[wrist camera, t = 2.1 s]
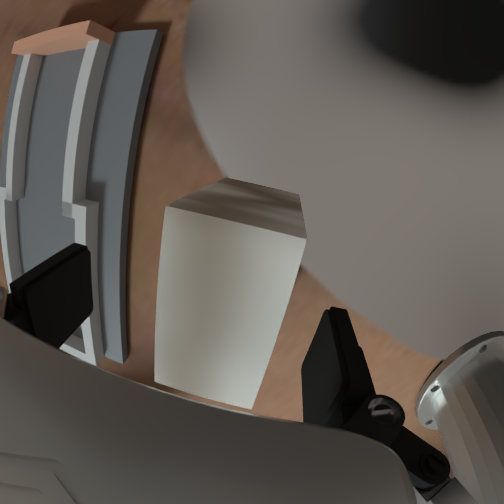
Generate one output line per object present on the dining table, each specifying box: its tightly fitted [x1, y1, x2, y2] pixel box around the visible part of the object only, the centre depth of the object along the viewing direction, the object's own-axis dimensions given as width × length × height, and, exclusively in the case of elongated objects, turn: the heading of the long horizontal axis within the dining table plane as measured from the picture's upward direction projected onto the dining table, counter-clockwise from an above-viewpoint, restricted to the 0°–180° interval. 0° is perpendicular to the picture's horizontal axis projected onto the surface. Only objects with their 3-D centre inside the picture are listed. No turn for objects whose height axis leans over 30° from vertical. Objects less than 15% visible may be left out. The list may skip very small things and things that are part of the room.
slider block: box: [155, 178, 307, 409], centre depth 14 cm, size 4×8×9 cm, turn 168°
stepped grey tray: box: [0, 20, 163, 366], centre depth 17 cm, size 15×26×4 cm, turn 168°
